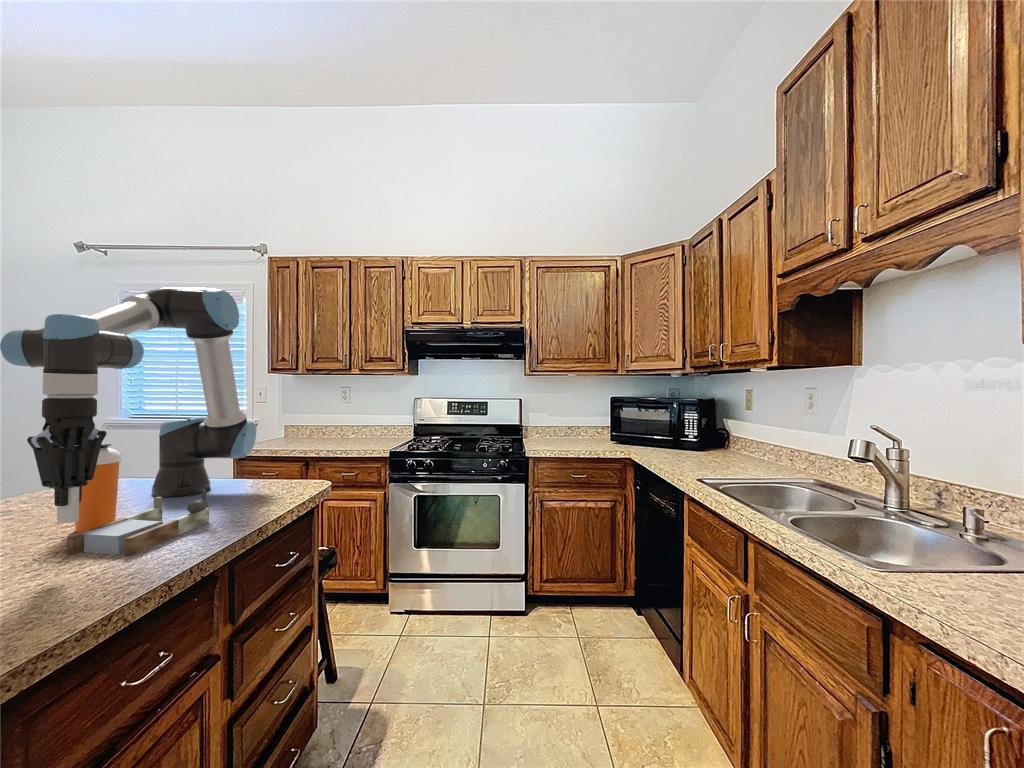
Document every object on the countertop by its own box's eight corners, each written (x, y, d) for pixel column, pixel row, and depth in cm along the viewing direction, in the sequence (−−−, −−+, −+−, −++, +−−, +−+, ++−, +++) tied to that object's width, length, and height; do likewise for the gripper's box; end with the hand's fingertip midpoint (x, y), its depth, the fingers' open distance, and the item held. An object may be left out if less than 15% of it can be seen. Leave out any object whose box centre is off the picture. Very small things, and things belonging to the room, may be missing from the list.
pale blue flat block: (130, 536, 104) (130, 519, 104) (162, 539, 103) (162, 520, 103) (83, 553, 94) (83, 533, 94) (118, 556, 93) (118, 535, 93)
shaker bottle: (89, 535, 104) (90, 447, 104) (59, 532, 106) (60, 445, 106) (129, 523, 113) (130, 442, 113) (100, 520, 115) (101, 441, 115)
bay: (159, 519, 116) (159, 484, 116) (213, 521, 116) (213, 485, 116) (66, 553, 93) (67, 509, 93) (133, 555, 92) (134, 511, 92)
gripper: (85, 396, 93) (82, 512, 93) (12, 397, 80) (9, 532, 80) (120, 396, 93) (118, 512, 93) (53, 397, 80) (50, 533, 80)
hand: (67, 521), depth 86 cm, fingers closed
